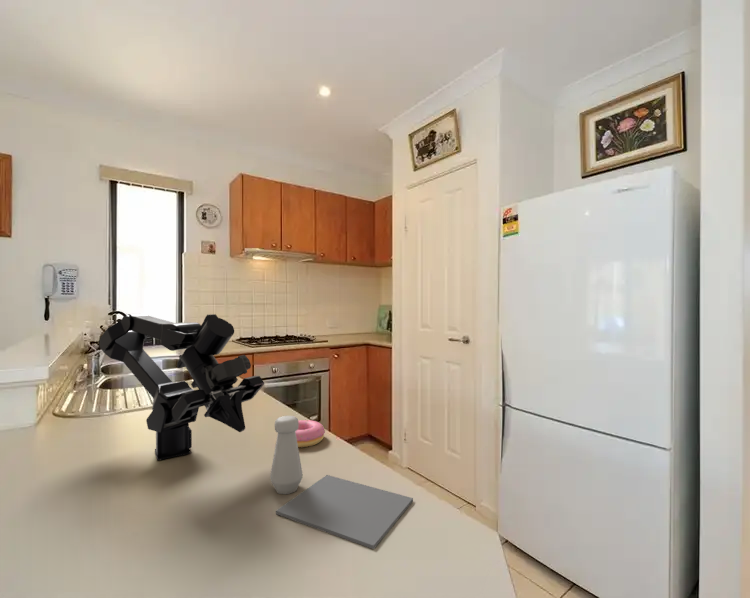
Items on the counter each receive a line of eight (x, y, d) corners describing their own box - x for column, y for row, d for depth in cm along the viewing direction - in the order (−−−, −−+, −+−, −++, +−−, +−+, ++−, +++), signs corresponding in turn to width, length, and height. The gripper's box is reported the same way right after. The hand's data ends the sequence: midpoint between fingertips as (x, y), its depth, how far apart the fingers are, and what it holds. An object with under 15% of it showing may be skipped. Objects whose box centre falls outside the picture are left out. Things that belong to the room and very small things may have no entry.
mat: (275, 513, 61) (275, 510, 61) (326, 477, 73) (326, 474, 73) (373, 549, 52) (373, 545, 52) (412, 501, 64) (412, 498, 64)
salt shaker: (273, 500, 65) (273, 424, 65) (267, 485, 70) (266, 415, 70) (306, 491, 68) (306, 419, 68) (298, 478, 73) (297, 411, 73)
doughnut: (309, 430, 100) (309, 414, 100) (334, 441, 92) (334, 424, 92) (271, 440, 92) (271, 423, 92) (294, 454, 84) (294, 435, 84)
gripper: (180, 349, 68) (222, 419, 63) (257, 339, 85) (296, 393, 80) (155, 388, 72) (192, 457, 67) (233, 371, 89) (269, 425, 83)
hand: (242, 430), depth 74 cm, fingers closed
